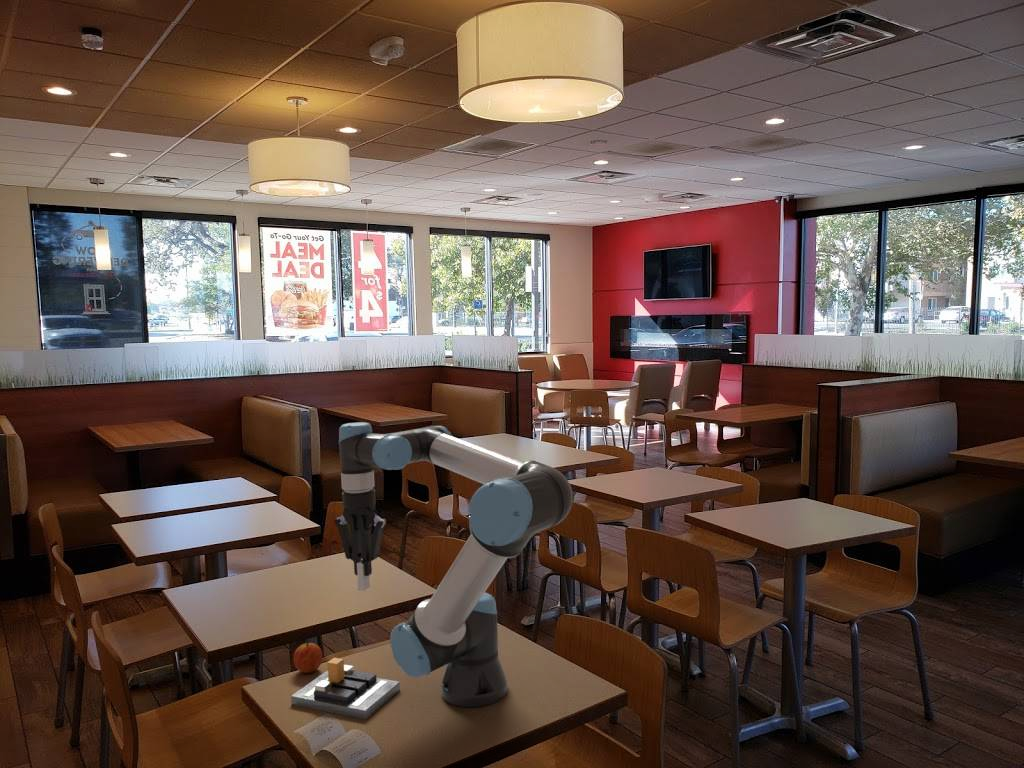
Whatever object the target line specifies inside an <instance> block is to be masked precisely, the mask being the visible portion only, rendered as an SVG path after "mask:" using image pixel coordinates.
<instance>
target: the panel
mask: <svg viewBox="0 0 1024 768" xmlns="http://www.w3.org/2000/svg"><path fill="white" fill-rule="evenodd" d="M344 676H345V678H344V679H342V680H341V681H340V682H338V683H336V682H330V681H328V669H327V670H326V671H325V672H323V673H322V674H320V675H318V677H316V678H314V679H313V680H312V681H310V682H309V683H308V684H306V685H304V686H303V687H301V688H299V690H298V691H296V692H294V693H293V694H292V695H290V699H291V700H290V701H291V703H290V704H291V705H292V704H293V705H292V706H297V707H303V708H308V709H312V710H317V711H322V712H327V713H332V714H336V715H342V716H346V717H351V718H357V719H362V720H367V719H368V718H369V717H370V716H371V715H373V714H374V713H375V712H376V711H377V710H379V709H380V708H382V706H384V705H385V704H386V703H387V702H388V701H389V700H390V699H391V698H393V697H394V695H396V694H397V693H398V692H400V690H401V685H400V681H397V680H391V679H387V678H380V677H377V673H371V672H367V671H365V672H364V671H360V670H354V665H349V664H344Z"/></svg>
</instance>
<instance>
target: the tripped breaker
mask: <svg viewBox="0 0 1024 768" xmlns="http://www.w3.org/2000/svg"><path fill="white" fill-rule="evenodd" d="M344 662H345V661H344V658H338V657H333V658H332V659H330V660H329V661H327V670H328V681H330V682H336V683H338V682H340V681H341V680H342V679H344V678H345V676H344V665H345V663H344Z"/></svg>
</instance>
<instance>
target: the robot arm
mask: <svg viewBox="0 0 1024 768" xmlns="http://www.w3.org/2000/svg"><path fill="white" fill-rule="evenodd" d="M338 437H339V438H338V439H339V440H338V445H339V447H338V448H339V461H340V463H339V464H340V476H341V478H340V479H341V483H340V484H341V490H343V491H342V493H341V496H342V497H341V498H342V507H343V511H342V515H340V516H339V517H336V518H335V519H334V520H333V522H334V524H335V526H336V528H337V530H338V533H339V537H340V541H341V544H342V548H343V551H344V556H345V558H346V560H351V561H352V562H353V568H354V569H353V570H354V571H353V572H354V575H355V576H357V590H358V591H361V592H362V591H363V592H364V591H366V590H367V589H369V588H370V587H371V586H370V576H371V575H372V573H373V572H372V571H373V568H372V561H373V562H374V560H377V558H379V557H380V549H381V546H382V545H381V544H382V539H383V533H384V528H385V526H386V524H387V523H388V521H387V519H386V518H381V516H379V515H378V511H377V509H376V505H377V503H376V499H377V498H376V490H375V488H374V487H375V486H376V485H375V484H376V483H375V468H376V469H377V468H378V469H382V470H386V471H391V470H394V471H395V470H396V471H397V470H399V471H400V470H402V469H404V468H406V466H407V465H408V464H412V463H418V462H422V461H425V462H428V463H430V464H433V465H434V466H435V465H436V466H439V467H441V468H444V469H446V470H449V471H450V472H454V473H456V474H458V475H461V476H463V477H466V478H468V479H470V480H472V481H475V482H477V483H480V484H482V486H480V487H479V488H478V489H477V490H476V491H475V492H474V493H473V495H472V497H471V499H470V502H469V505H468V510H467V511H468V512H469V513H470V515H469V516H468V522H469V526H468V527H469V531H470V535H469V537H468V538H467V540H466V542H465V543H464V545H463V546H462V548H461V550H460V551H459V553H458V554H457V556H456V557H455V559H454V561H453V562H452V564H451V566H450V567H449V569H448V571H447V572H446V574H445V575H444V576H443V578H442V580H441V581H440V583H439V585H438V587H437V588H436V589H435V591H434V593H433V594H432V596H431V598H427V599H424V600H423V601H421V602H420V603H419V604H418V605H417V606H416V609H415V610H414V612H413V613H412V615H411V616H410V618H409V619H408V620H406V621H404V622H399V624H398V625H395V626H394V627H393V628H392V631H391V633H390V640H389V641H390V647H391V652H392V656H393V659H394V660H395V662H396V664H397V665H398V668H400V670H401V671H403V673H404V674H406V675H407V676H409V677H411V678H413V679H417V678H421V677H423V676H429V675H430V674H431V673H432V672H434V671H436V670H438V669H440V668H442V667H444V666H446V667H445V669H444V673H443V676H442V680H441V685H440V686H441V696H442V698H443V700H444V701H446V702H447V703H449V704H451V705H453V706H456V707H461V708H462V707H464V708H480V707H484V706H485V707H486V706H489V705H492V704H495V703H497V702H498V701H500V700H502V699H503V698H504V697H505V696H506V694H507V693H508V680H507V676H506V674H505V671H504V668H503V666H502V663H501V661H500V658H499V644H498V643H499V639H498V636H499V635H498V634H499V633H498V610H497V603H496V599H495V597H494V596H493V595H492V594H490V593H488V592H486V591H487V589H488V588H489V587H490V585H491V583H493V581H494V579H495V578H496V576H497V574H498V573H499V572H500V570H501V569H502V567H503V565H504V564H505V563H506V561H507V559H513V558H515V557H517V556H519V555H520V554H521V553H522V552H523V550H524V549H525V547H526V546H527V544H528V542H529V541H531V540H530V539H531V538H532V537H533V536H534V535H535V534H537V533H540V532H541V531H545V530H547V529H550V528H553V527H555V526H557V525H559V524H560V523H561V522H563V521H564V520H565V519H566V518H567V517H568V515H569V513H570V511H571V509H572V506H573V501H574V500H573V499H574V498H573V497H574V495H573V494H574V493H573V488H572V486H571V484H570V482H569V480H568V478H567V477H566V476H565V475H564V474H563V473H562V472H560V471H559V470H558V469H556V468H555V467H552V466H550V465H547V464H544V463H542V462H538V461H536V460H528V461H526V462H524V461H522V460H519V459H517V458H513V457H511V456H508V455H506V454H503V453H501V452H497V451H494V450H491V449H489V448H487V447H486V448H485V447H483V446H480V445H477V444H476V443H472V442H469V441H466V440H464V439H461V438H458V437H456V436H454V435H452V433H451V431H449V430H448V428H447V427H445V426H443V425H429V426H425V427H424V426H423V427H421V428H420V427H419V428H414V429H409V430H404V431H397V432H396V431H395V432H390V433H373V428H372V425H371V423H369V422H358V421H357V422H348V423H344V424H341V426H340V427H339V429H338ZM373 523H374V524H373ZM372 526H374V529H373V528H372ZM372 529H373V531H372Z"/></svg>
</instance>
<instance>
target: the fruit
mask: <svg viewBox="0 0 1024 768" xmlns="http://www.w3.org/2000/svg"><path fill="white" fill-rule="evenodd" d="M322 662H323V652H322V649H321V647H320V646H319V645H318V644H316V643H314V642H309V641H308V640H306V643H304V642H303V644H301V645H299V646H298V647H297V648H296V650H295V651H294V654H293V665H294V667H295V669H297V670H298V671H299V672H301V673H303V674H310V673H313V672H315V671H317V670H318V669H319V667H320V666H321V664H322Z"/></svg>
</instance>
